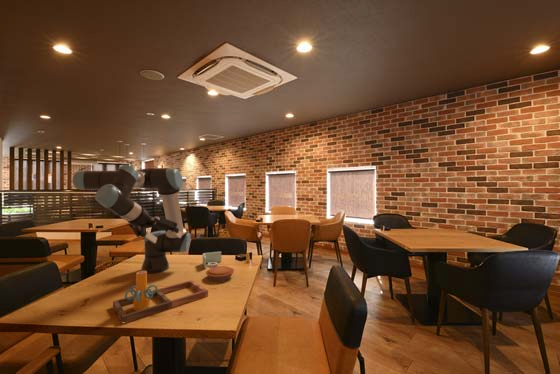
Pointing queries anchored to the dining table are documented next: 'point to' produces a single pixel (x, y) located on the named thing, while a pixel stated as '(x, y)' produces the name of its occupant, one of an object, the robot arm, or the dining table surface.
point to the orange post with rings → (141, 292)
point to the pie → (220, 273)
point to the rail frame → (160, 295)
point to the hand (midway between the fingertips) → (168, 238)
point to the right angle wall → (211, 259)
